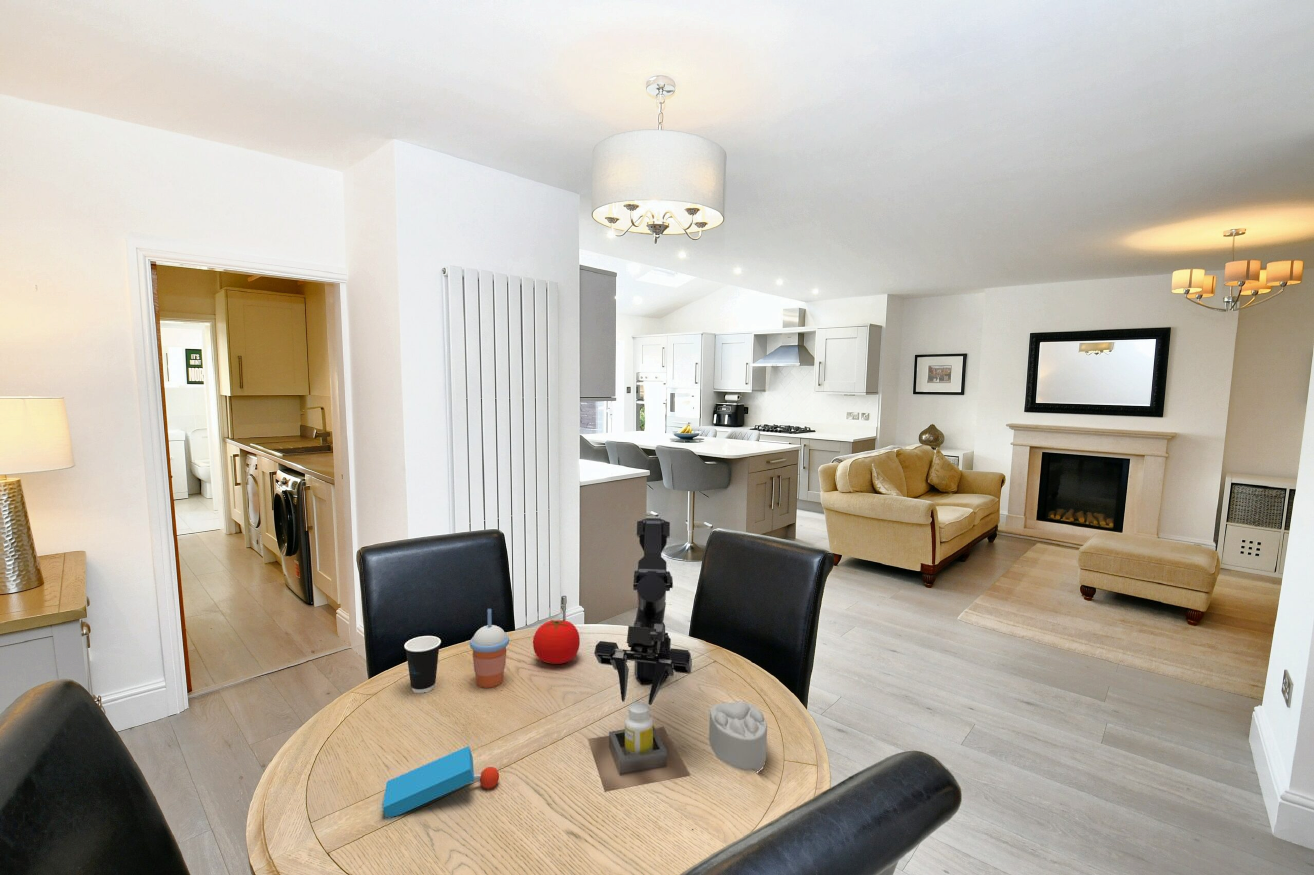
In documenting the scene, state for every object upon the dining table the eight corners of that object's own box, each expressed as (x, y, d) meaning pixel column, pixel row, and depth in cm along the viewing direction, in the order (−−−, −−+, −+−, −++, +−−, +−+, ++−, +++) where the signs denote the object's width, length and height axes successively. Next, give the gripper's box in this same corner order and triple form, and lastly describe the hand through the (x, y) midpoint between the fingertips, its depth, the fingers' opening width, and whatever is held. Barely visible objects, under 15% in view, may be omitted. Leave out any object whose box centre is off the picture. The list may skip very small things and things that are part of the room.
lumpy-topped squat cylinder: (751, 733, 124) (753, 693, 123) (776, 772, 111) (778, 729, 110) (703, 737, 122) (705, 697, 121) (723, 779, 109) (725, 734, 108)
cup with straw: (503, 692, 138) (503, 617, 136) (464, 690, 138) (464, 616, 136) (513, 673, 147) (513, 602, 145) (477, 672, 147) (476, 601, 146)
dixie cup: (400, 697, 135) (399, 650, 134) (411, 679, 143) (411, 635, 142) (435, 696, 135) (435, 650, 134) (445, 679, 143) (444, 635, 142)
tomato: (581, 650, 160) (581, 613, 159) (577, 671, 149) (578, 630, 148) (536, 650, 160) (537, 613, 159) (529, 671, 148) (529, 630, 147)
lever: (396, 843, 98) (503, 793, 103) (382, 807, 97) (491, 759, 102) (399, 814, 105) (500, 769, 110) (386, 781, 103) (489, 736, 109)
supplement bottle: (654, 749, 115) (655, 700, 115) (650, 766, 110) (651, 715, 109) (627, 746, 116) (627, 698, 115) (622, 763, 111) (622, 713, 110)
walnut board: (663, 732, 123) (663, 726, 123) (690, 781, 108) (690, 775, 108) (587, 744, 118) (587, 738, 118) (604, 797, 103) (604, 791, 103)
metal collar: (652, 738, 119) (652, 724, 118) (666, 766, 110) (666, 751, 110) (608, 746, 116) (608, 731, 116) (619, 775, 108) (619, 759, 107)
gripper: (597, 601, 116) (579, 682, 106) (691, 610, 113) (682, 694, 103) (607, 624, 125) (591, 701, 115) (695, 633, 121) (686, 713, 111)
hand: (636, 702), depth 111 cm, fingers open, 5 cm apart
